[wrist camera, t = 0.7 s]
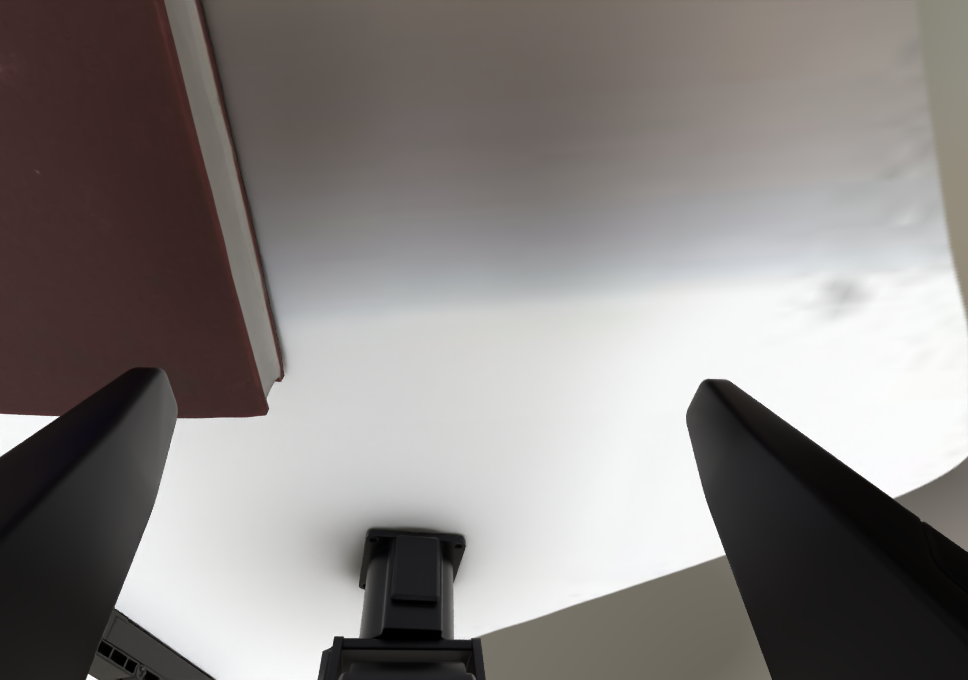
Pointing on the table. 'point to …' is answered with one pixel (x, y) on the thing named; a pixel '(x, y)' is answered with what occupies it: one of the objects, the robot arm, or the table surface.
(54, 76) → the book
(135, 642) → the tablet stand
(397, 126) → the table surface
